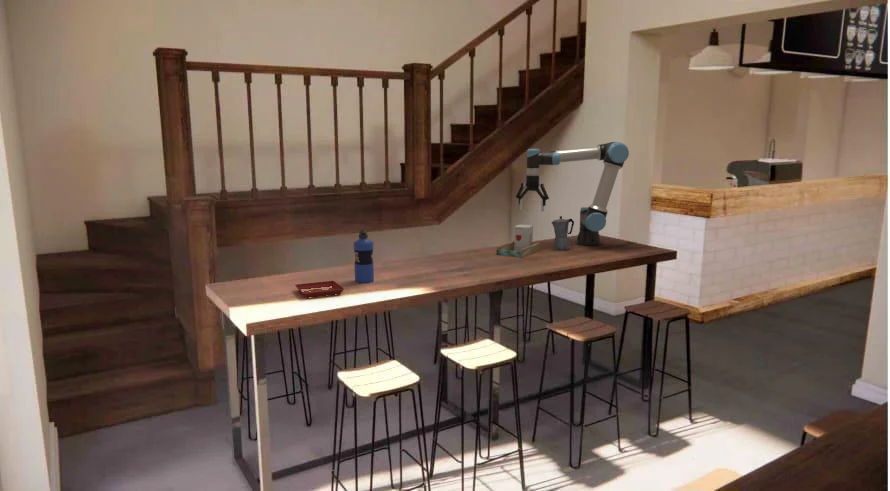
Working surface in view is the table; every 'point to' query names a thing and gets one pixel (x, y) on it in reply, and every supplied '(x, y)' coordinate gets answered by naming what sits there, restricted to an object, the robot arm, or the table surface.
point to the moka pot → (561, 233)
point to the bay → (524, 252)
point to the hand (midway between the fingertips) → (531, 210)
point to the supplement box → (523, 236)
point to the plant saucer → (319, 292)
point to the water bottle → (363, 259)
